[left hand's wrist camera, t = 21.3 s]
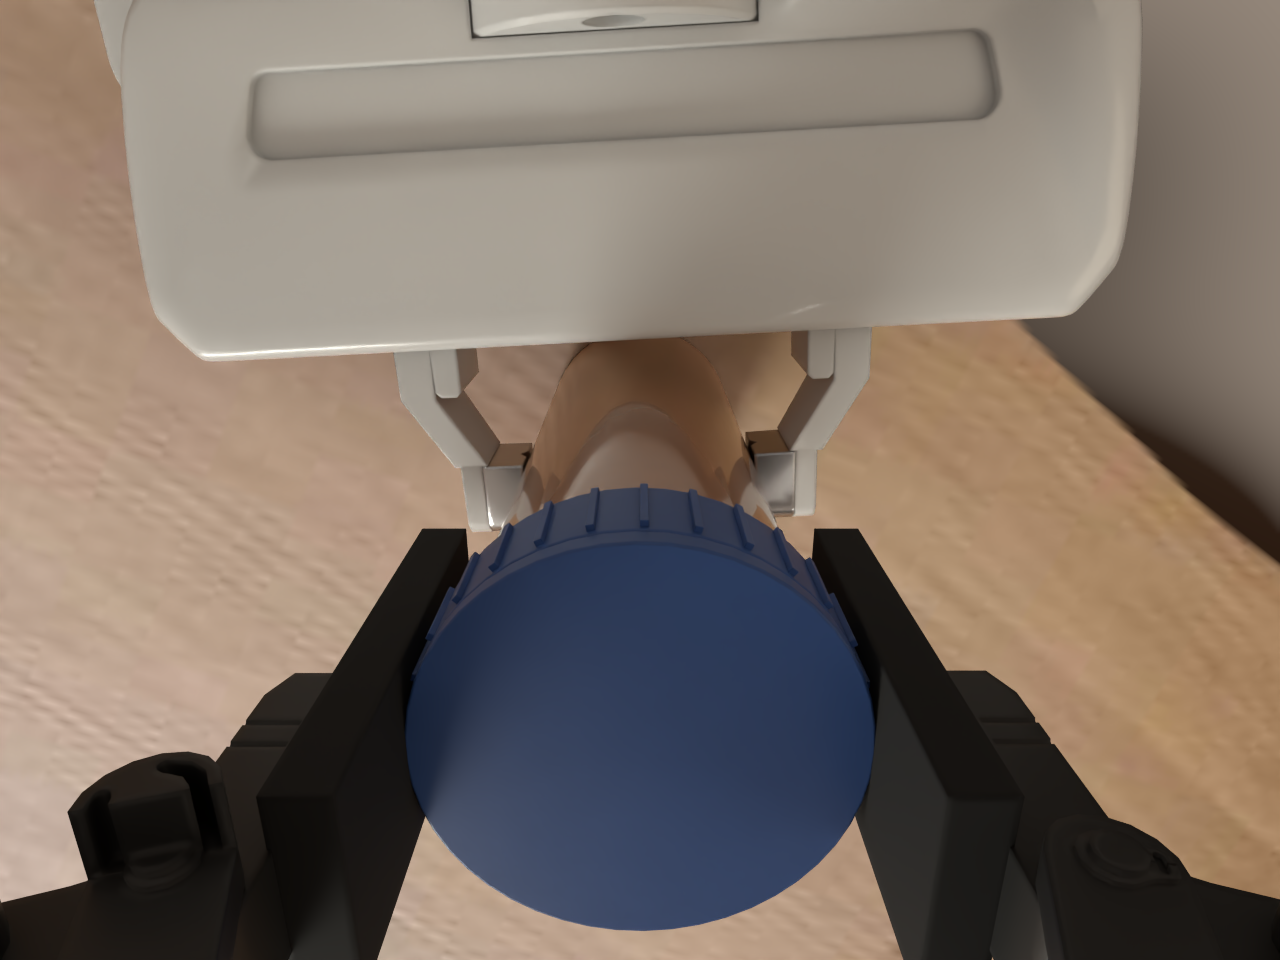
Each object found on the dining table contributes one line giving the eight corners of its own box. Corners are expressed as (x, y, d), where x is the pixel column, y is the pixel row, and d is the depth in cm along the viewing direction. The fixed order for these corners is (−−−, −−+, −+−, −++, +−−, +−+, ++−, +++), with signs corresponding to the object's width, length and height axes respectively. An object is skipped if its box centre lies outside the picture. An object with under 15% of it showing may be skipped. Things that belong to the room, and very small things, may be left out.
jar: (718, 499, 27) (810, 881, 12) (552, 490, 27) (445, 864, 12) (735, 333, 25) (868, 551, 10) (555, 322, 25) (434, 527, 10)
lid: (366, 742, 13) (324, 831, 11) (547, 401, 11) (529, 443, 9) (711, 890, 14) (722, 991, 12) (931, 602, 12) (981, 675, 10)
